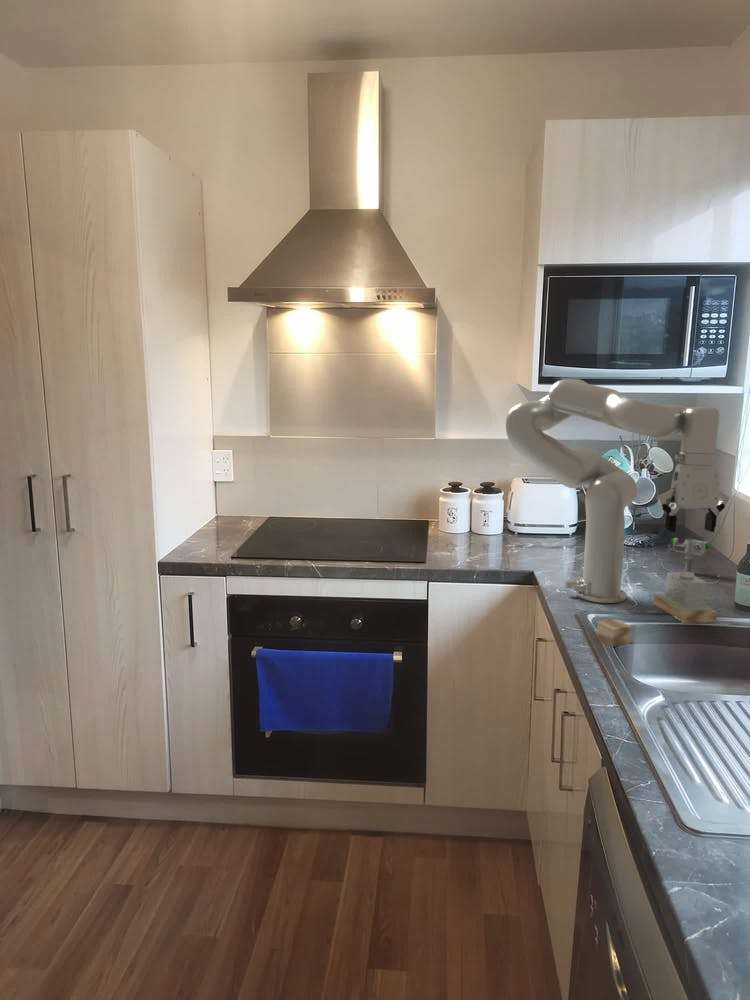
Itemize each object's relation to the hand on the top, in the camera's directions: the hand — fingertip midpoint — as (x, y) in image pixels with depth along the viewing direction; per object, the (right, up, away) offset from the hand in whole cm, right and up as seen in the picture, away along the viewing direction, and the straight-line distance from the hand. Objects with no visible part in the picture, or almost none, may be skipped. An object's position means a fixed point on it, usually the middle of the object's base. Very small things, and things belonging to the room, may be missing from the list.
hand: (689, 530), depth 171 cm
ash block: (-23, -24, -15) cm, 36 cm away
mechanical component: (+15, -14, +37) cm, 42 cm away
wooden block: (0, -20, +3) cm, 20 cm away
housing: (0, -17, +3) cm, 17 cm away
